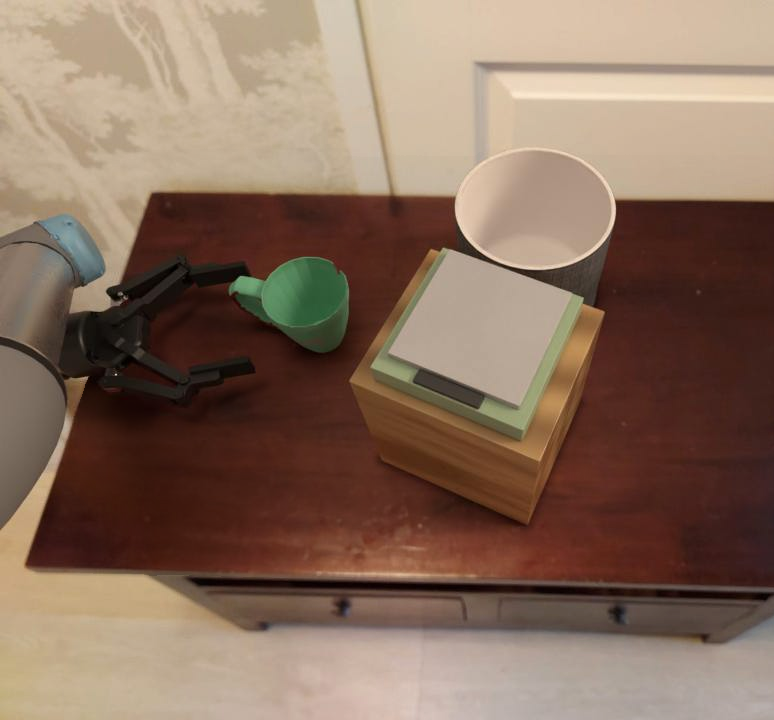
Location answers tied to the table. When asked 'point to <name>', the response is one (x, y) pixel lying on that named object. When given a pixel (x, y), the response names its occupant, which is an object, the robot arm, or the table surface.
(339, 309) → the mug
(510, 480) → the riser
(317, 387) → the table surface
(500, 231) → the planter
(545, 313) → the scale
